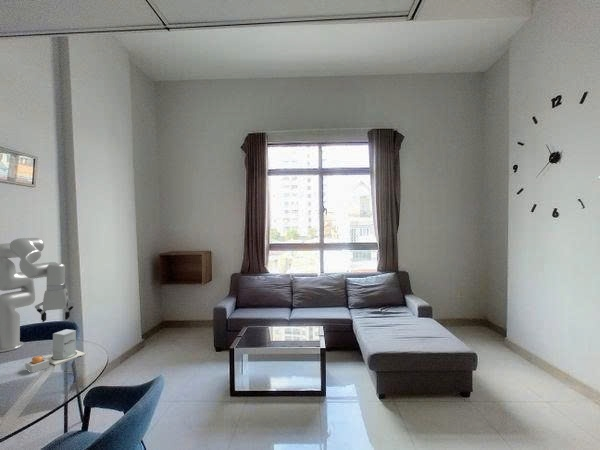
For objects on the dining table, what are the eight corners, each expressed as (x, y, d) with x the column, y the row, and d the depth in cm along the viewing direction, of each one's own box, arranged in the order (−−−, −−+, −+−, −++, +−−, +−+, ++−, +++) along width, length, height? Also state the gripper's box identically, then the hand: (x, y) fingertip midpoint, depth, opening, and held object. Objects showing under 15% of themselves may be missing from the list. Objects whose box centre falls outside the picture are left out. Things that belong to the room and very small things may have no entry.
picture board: (42, 359, 162) (42, 357, 162) (72, 349, 174) (72, 347, 174) (55, 365, 155) (55, 363, 155) (85, 355, 167) (85, 353, 167)
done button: (30, 364, 151) (30, 358, 151) (40, 360, 154) (40, 355, 154) (34, 366, 149) (34, 360, 149) (44, 362, 152) (44, 356, 152)
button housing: (25, 369, 150) (25, 362, 150) (42, 363, 156) (42, 357, 156) (31, 373, 147) (31, 366, 147) (49, 367, 153) (49, 360, 153)
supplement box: (62, 358, 160) (63, 334, 160) (52, 356, 162) (52, 333, 162) (76, 352, 167) (76, 330, 167) (65, 351, 169) (66, 328, 169)
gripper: (77, 285, 166) (77, 316, 166) (38, 287, 159) (37, 319, 160) (73, 287, 159) (73, 320, 159) (31, 290, 153) (31, 324, 153)
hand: (55, 320), depth 160 cm, fingers open, 9 cm apart
